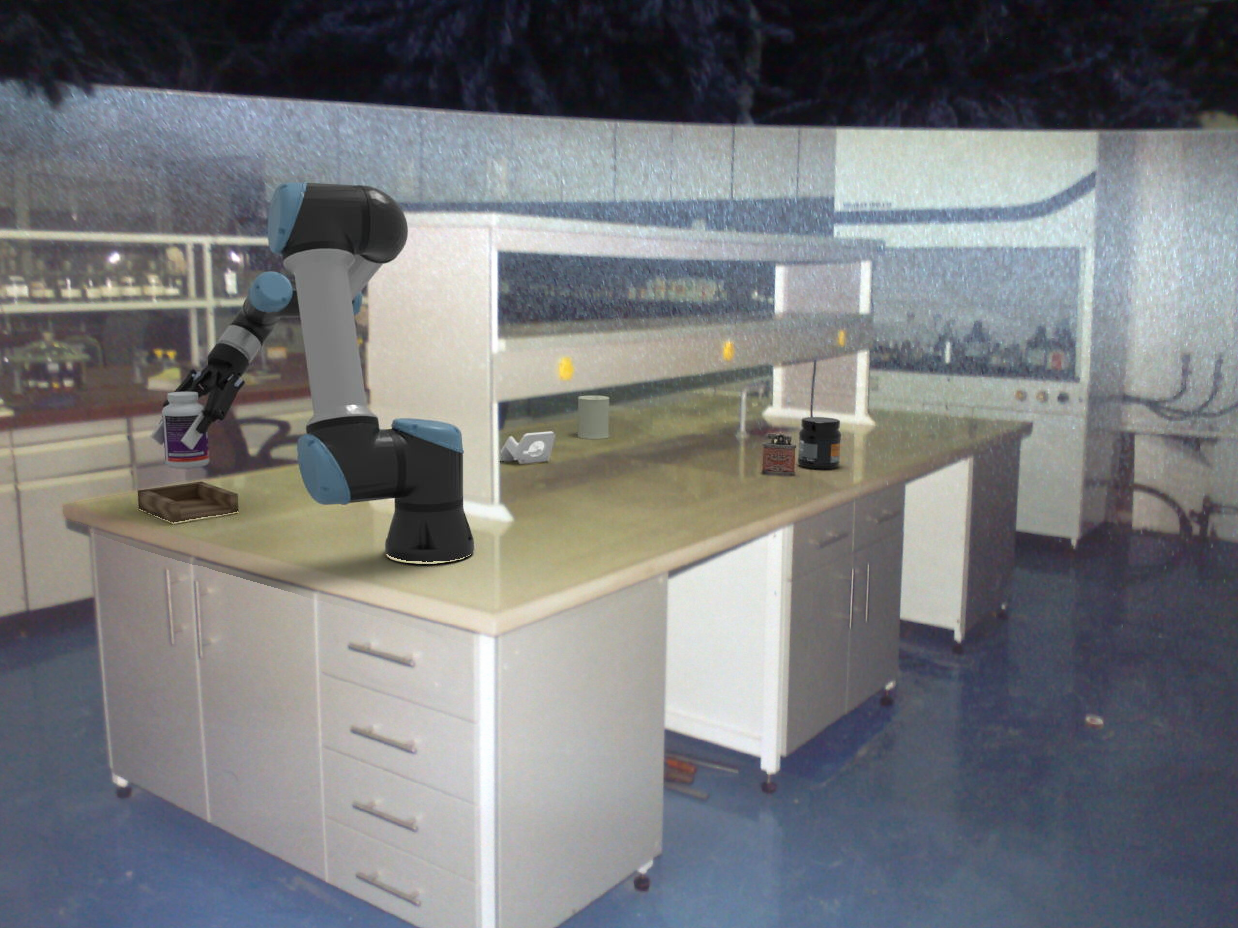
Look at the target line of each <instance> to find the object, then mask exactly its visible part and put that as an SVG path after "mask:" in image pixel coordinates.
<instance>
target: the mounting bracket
mask: <svg viewBox="0 0 1238 928" xmlns="http://www.w3.org/2000/svg"><path fill="white" fill-rule="evenodd" d="M555 437H556V434H555V432H553V431H550V430H549V431H541V432H540V431H539V432H527V433H525V434H523V436H522V437H521V439H520V441H519V442H517V441H516V439H515V438H514V437H513V436H512V435H511V436H509V437H508V438H507V440H506V441H505V443H504V445H503V446H502V448H501V450H500V451H501V462H500V463H502V461H504V462H512V461H514V462H515V461H517V462H518V463H519V464H520V465H523V464H534V463H543V462H548V461H549V460H550V458H551V455H552V451H553V450H552V449H553V446H554V443H555V442H554V441H555Z"/></svg>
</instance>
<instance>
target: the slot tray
mask: <svg viewBox="0 0 1238 928" xmlns="http://www.w3.org/2000/svg"><path fill="white" fill-rule="evenodd" d="M137 502H138V510H139V509H141V510H143V511H146V512H147V513H150V514H152V515H155V516H158V517H160V518H162V519H165V520H168V521H170V522H173V523H174V522H179V521H185V520H189V519H196V518H201V517H208V516H216V515H223V514H228V513H233V512H237V511H238V512H239V513H240V510H239V495H238V493H236V492H234V491H231V490H227V489H224V488H221V487H219V486H216V485H213V484H210V483H207V482H205V481H194V482H188V483H181V484H180V483H179V484H174V485H167V486H161V487H158V486H157V487H153V488H146V489H137ZM147 513H146V514H147ZM152 515H151V516H152Z"/></svg>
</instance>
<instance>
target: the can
mask: <svg viewBox="0 0 1238 928" xmlns="http://www.w3.org/2000/svg"><path fill="white" fill-rule="evenodd" d="M577 403H578V404H577V405H578V407H577V409H578V413H577V414H578V415H577V417H578V418H577V423H578V424H577V425H578V426H577V430H578V431H577V438H580V439H583V440H604V439H609V438H610V434H609V433H610V432H609V430H610V428H609V426H610V425H609V422H610V421H609V420H610V414H609V413H610V396H605V395H581V396H578V397H577Z"/></svg>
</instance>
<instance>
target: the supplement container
mask: <svg viewBox="0 0 1238 928" xmlns="http://www.w3.org/2000/svg"><path fill="white" fill-rule="evenodd" d="M800 423H801V425H800V426H801V429H800V430H799V432H798V450H797V451H798V453H797V454H798V457H797V463H798V465H799V466H800V467H802V468H805V469H808V470H809V469H810V470H820V471H822V470H823V471H824V470H835V469H836V468H838V467H839V465H840V459H841V458H840V455H841V440H842V439H841V438H842V433H841V431H840V430H839V429H840V428H841V421H840V419H837V418H834V417H825V416H813V417H812V416H810V417H809V416H808V417H803V418H801V422H800Z"/></svg>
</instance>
